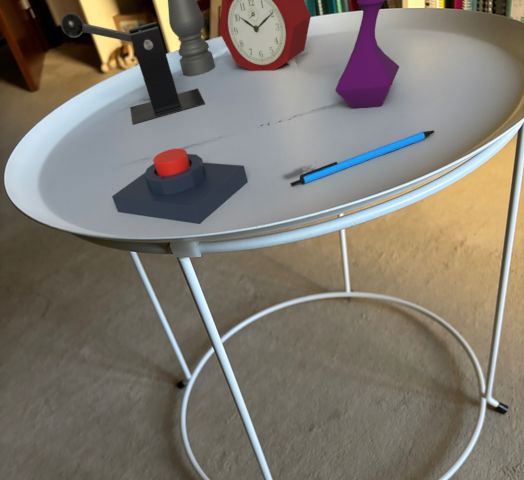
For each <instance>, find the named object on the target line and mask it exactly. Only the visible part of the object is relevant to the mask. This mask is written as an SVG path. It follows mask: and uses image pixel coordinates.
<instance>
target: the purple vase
mask: <svg viewBox="0 0 524 480" xmlns="http://www.w3.org/2000/svg"><path fill="white" fill-rule="evenodd" d="M385 1H386V0H357V1H356V4H358V5H360V6H361V9H362V17H361V22H360V26H359V31H358V33H357V36H356V40H355V43H354V47H353V49H352V52H351V54H350V56H349V59H348V61H347V64H346V66H345V68H344V70H343V72H342V74H341V76H340V78H339V80H338V82H337V84H336V87H335V88H334V91H335V92H336V93H337V94H338V95H339V96H340V98H342V100H343V101H344V102H345V103H346V104H347V105H348V106H349V107H351V109H365V108H366V109H367V108H377V107H381V106H383V105H384V102H385V100H386V98H387V96H388V93H389V92H390V89H391V87H392V85H393V83H394V81H395V78H396V76H397V73H398V71H399V69H400V65H399V64H398V63H396V62H395V61H394V60H393V59H392V58H390V56H389V55H387V54H386V53H385V52H384V51H383V50H382V48H381V47H380V46H379V45H378V42H377V39H376V26H377V19H378V16H379V12H380V10H381V8H382V6H383V5H384V2H385Z"/></svg>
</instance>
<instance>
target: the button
mask: <svg viewBox="0 0 524 480" xmlns="http://www.w3.org/2000/svg"><path fill="white" fill-rule="evenodd" d="M187 154H188V153H187V150H185V149H184V148H171V149H167V150H164V151H162V152H160V153H158V154H157V155H155V156H154V157H153V159H152V163H153V164H154V165H155V168H156V171H157V174H158V176H169V175H174V174H177V173H180V172H182V171H185V170H186V169H187V168H189V167H190V163H189V159H188V156H187Z"/></svg>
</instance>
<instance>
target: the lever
mask: <svg viewBox="0 0 524 480" xmlns="http://www.w3.org/2000/svg"><path fill="white" fill-rule="evenodd" d="M60 27H61V30H62V31H63V33H64V34H65V35H66V36H67V37H69V38H78V37H80V36H81V35H82V34H83V33H86V34H91V35H94V36H95V35H96V36H100V37H105V38H109V39H113V40H114V39H115V40H119V41H124V42H129V43H132V40H131V37H130V34H131V33H130V32H126V31H121V30H117V29H112V28H107V27H102V26H98V25H92V24H88V23H84V22H83V19H81V16H79V15H78V14H76V13H73V12H68V13H66V14H64V15H63V16H62V18H61V20H60ZM140 31H143V30H138V32H140Z"/></svg>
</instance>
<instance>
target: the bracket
mask: <svg viewBox="0 0 524 480" xmlns="http://www.w3.org/2000/svg"><path fill="white" fill-rule="evenodd" d="M138 30H143V31H140V32H138ZM128 31H129V32H128V33H131V34H130V37H131V40H132V42H131V43H132V46H133V49H134V53H135V55H136V59H137V63H138V65H139V69H140V71H141V75H142V78H143V81H144V84H145V87H146V90H147V94H148V97H149V100H150V101H148V102H144V103H140V104H138V105H134V106H131V107H129V109H130V116H131V123H132V125H133V126H135V125H137V124H141V123H145V122H148V121H152V120H156V119H159V118H163V117H166V116H170V115H173V114H176V113H181V112H184V111H186V110H190V109H194V108H198V107H201V106H204V105H206V103H205V99H204V98H203V97H202V93H201V92H200V89H199V88H194V89H191V90H186V91H183V92H180V93H178V91H177V87H176V84H175V81H174V77H173V73H172V70H171V67H170V63H169V60H168V55H167V52H166V49H165V45H164V43H163V39H162V34H161V32H160V28H159V26H158V23H157V22H156V21H154V22H151V23H147V24H142V25H139V26H135V27H132V28H129V29H128Z"/></svg>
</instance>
